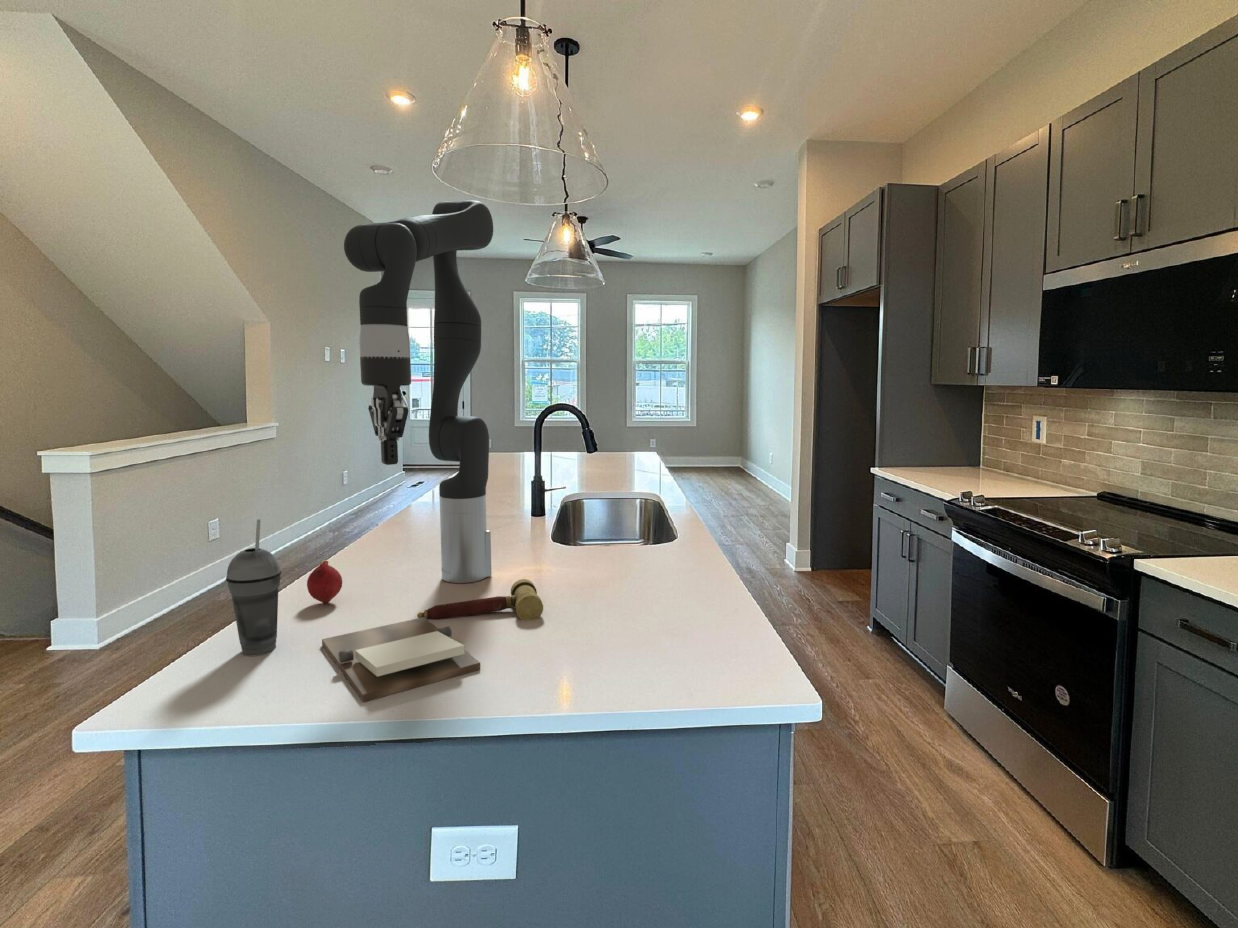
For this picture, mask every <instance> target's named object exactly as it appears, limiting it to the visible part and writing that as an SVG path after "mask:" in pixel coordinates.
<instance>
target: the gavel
mask: <svg viewBox="0 0 1238 928" xmlns="http://www.w3.org/2000/svg"><path fill="white" fill-rule="evenodd" d="M512 608H515V612H516V615H517V616H518V618H519V619H520V620H522V621H527V620H528V621H529V620H537V619H539V618H540V617H541V616H542V614H543V612H544V604H543V601H542V599H541V597H540V596H539V595H538V592H537V588H536V586H535V584H534V583H533V582H532V581H531V580H530V579H527V578H522V579H518V580H516V581H515V582H514V583H513V584H512V586H511V588H510V595H506V596H505V595H503V596H500V595H499V596H497V595H496V596H492V597H485V598H484V597H483V598H479V599H471V600H464V601H458V602H452V603H451V602H449V603H445V604H436V605H434V606H432V607H430V608H428V609H424V611H423V612H420V611H419V612H417V614H416V616H417V617H416V618H422V617H425V618H426V619H427V620H443V619H451V618H452V619H455V618H460V617H469V616H475V615H481V614H488V613H494V612H501V611H504V610H507V609H508V610H509V609H512Z"/></svg>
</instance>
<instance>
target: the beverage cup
mask: <svg viewBox="0 0 1238 928" xmlns="http://www.w3.org/2000/svg"><path fill="white" fill-rule="evenodd" d="M255 527H256V528H255V545H254V547H252V548H247V549H244V550H242V551H240V552H239V553H237V554H236V555H235V556H234V557H233V558H232V559H231V560H230V562H229V564H228V567H227V572H226V577H225V581H226V582H227V587H228V590H229V593H230V594H231V601H232V606H233V611H234V617H235V623H236V629H237V635H238V640H239V644H240V647H241V653H242V654H243V655H244V656H251V657H252V656H260V655H265V654H268V653H270V652H272V651H274V650H275V649H276V648H277V637H278V613H279V610H278V609H279V608H278V607H279V587H280V583H281V575H282V570H281V568H280V565H279V564H280V563H279V561H278V560H277V558H276V556H275V555H273V553H272V552H270V551H268V550H266V549H264V548H260V539H261V538H260V535H261V533H260V532H261V519H258V518H257V520H256V526H255Z"/></svg>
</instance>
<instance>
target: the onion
mask: <svg viewBox="0 0 1238 928" xmlns="http://www.w3.org/2000/svg"><path fill="white" fill-rule="evenodd" d="M306 587H307V592H308V593H309V595H310V596H311V597H312V598H313V600H314V599H315V600H317V601H318V602H319V603H320V602H321V603H323V604H328V603H330V602H331V601H332V600H333V599H334V598H335V597H337V595H338V594H339V593H340V591H341V589H342V588H343V578H342V575H341V573H340V572H339V571H338V570H337V569H336V568H335V567H333V566H331V565H329V561H328V560H327V559H324V560H322V561H321V562H320V563H319V565H318V566H317V567H315V568H314V569H313V570H312V572H311V573H310V574H309V575H308V578H307V581H306Z"/></svg>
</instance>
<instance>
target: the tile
mask: <svg viewBox="0 0 1238 928" xmlns="http://www.w3.org/2000/svg"><path fill="white" fill-rule="evenodd" d="M464 650H465V645H464V644H463V643H460V642H459V641H457V640H455V639H453V638H452V637H448V636H446V635H444V634H442V633H440V632H438V631H436V632H431V633H427V634H423V635H418V636H414V637H410V638H405V639H401V640H397V641H393V642H388V643H384V644H380V645H375V646H371V647H367V648H363V649H358V650H355V653H356V659H357V660H358V661H359V662H360V663H362V664H363V665H364V666H365V667H366V668H367V669H369V670H370V671H371V672H372V673H373V674H374V675H376V676H377V677H378V676H382V675H386V674H390V673H393V672H397V671H401V670H405V669H409V668H413V667H416V666H420V665H424V664H428V663H432V662H436V661H439V660H443V659H447V658H451V657H455V656H458V655H462V654H465V652H464Z"/></svg>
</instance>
